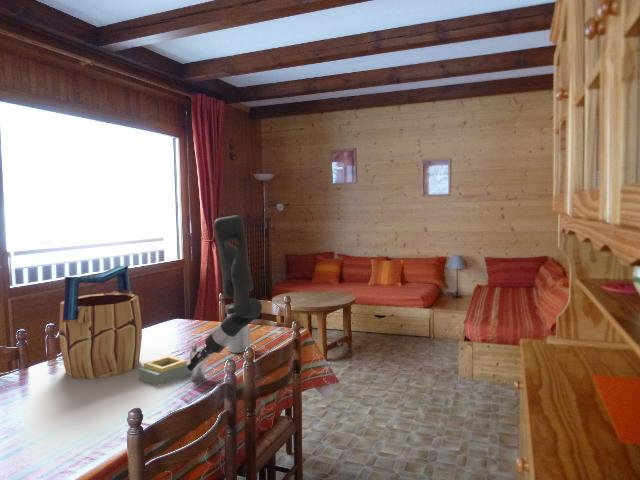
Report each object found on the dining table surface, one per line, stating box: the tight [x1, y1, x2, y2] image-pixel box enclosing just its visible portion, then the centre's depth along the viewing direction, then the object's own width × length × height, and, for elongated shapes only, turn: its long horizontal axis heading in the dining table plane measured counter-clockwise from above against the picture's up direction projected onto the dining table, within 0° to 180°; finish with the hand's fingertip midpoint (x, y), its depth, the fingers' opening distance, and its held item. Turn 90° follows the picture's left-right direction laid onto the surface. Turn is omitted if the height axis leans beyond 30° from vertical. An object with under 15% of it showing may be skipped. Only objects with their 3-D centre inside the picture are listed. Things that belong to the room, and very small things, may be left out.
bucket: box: [58, 265, 143, 380], centre depth 191 cm, size 39×31×40 cm
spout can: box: [189, 343, 206, 382], centre depth 177 cm, size 5×5×13 cm
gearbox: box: [137, 355, 191, 386], centre depth 183 cm, size 20×12×6 cm, turn 143°
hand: (193, 366), depth 178 cm, fingers closed on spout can, 5 cm apart
